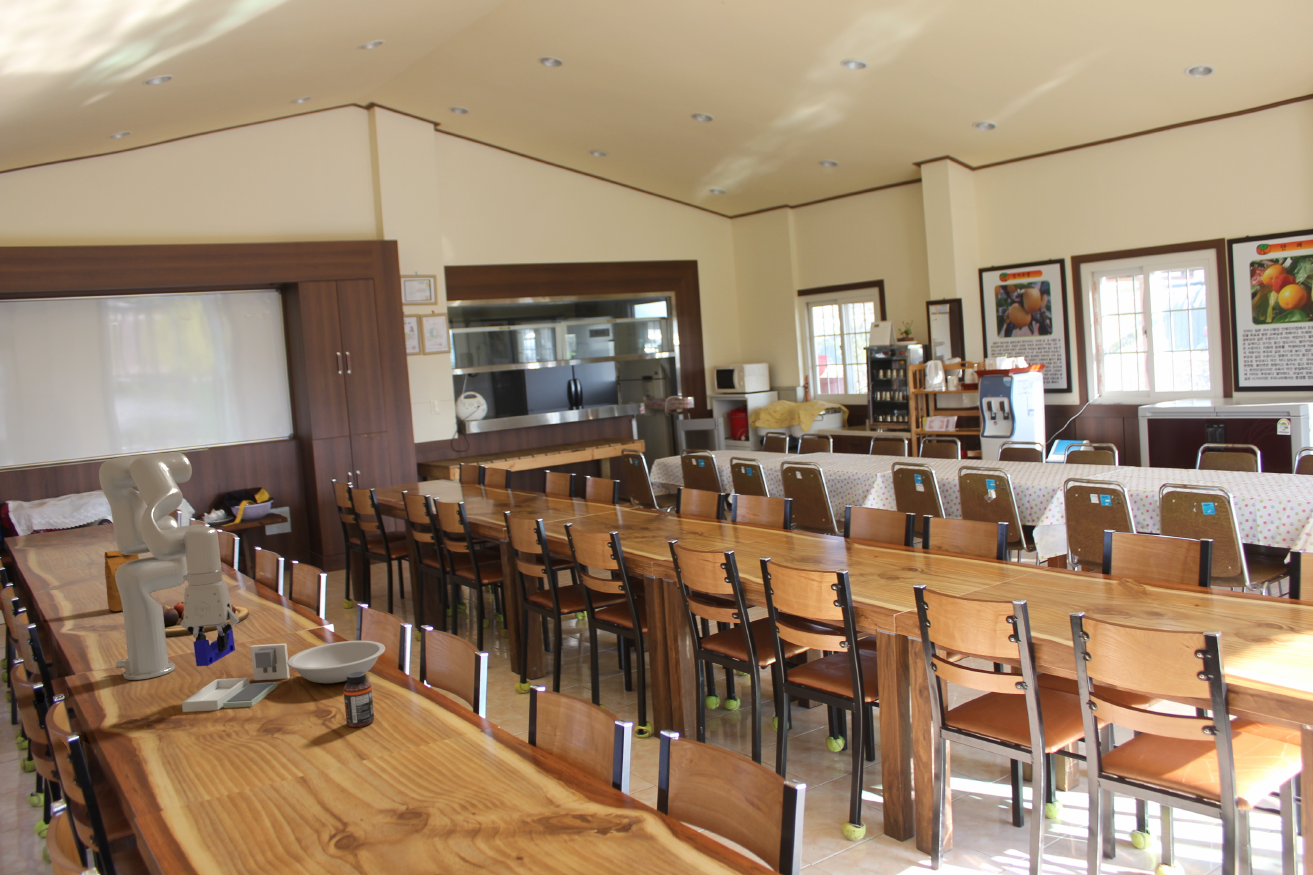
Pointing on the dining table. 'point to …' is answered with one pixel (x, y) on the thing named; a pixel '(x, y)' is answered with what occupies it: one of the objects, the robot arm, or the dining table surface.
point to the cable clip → (212, 650)
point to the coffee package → (111, 565)
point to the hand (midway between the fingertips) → (212, 650)
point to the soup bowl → (336, 660)
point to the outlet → (270, 661)
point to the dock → (214, 694)
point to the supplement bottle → (358, 700)
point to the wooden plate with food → (177, 615)
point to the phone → (250, 695)
